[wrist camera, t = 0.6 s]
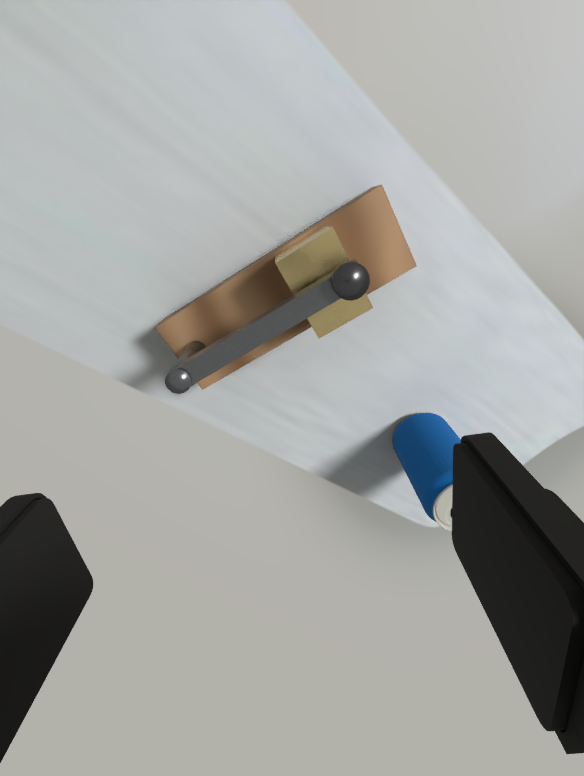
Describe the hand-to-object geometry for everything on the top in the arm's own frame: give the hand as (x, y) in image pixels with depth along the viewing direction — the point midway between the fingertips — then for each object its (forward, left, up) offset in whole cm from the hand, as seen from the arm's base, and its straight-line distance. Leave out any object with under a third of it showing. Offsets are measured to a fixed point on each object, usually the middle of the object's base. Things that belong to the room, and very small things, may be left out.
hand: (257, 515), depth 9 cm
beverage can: (+6, -23, -30) cm, 38 cm away
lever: (-1, -1, -26) cm, 26 cm away
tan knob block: (+4, -1, -26) cm, 26 cm away
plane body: (+1, -1, -30) cm, 30 cm away
